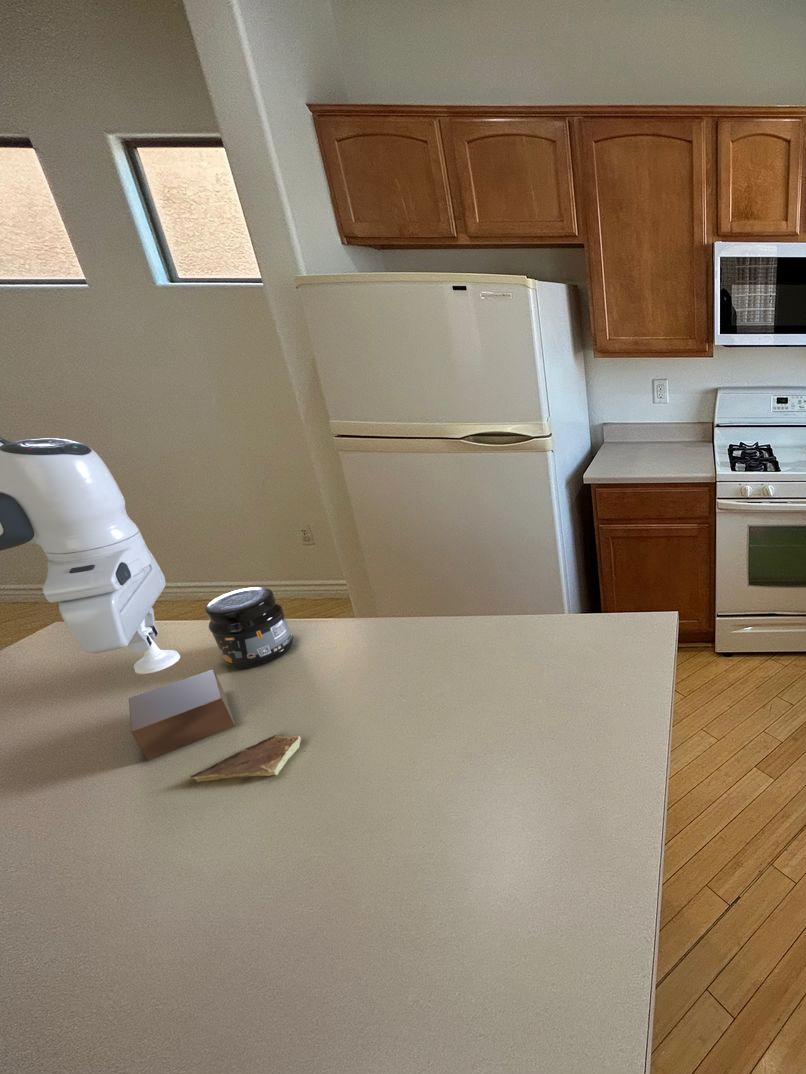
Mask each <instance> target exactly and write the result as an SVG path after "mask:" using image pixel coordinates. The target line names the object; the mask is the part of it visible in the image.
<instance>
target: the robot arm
mask: <svg viewBox="0 0 806 1074" xmlns="http://www.w3.org/2000/svg"><path fill="white" fill-rule="evenodd" d="M24 544H25V545H26V544H36V545H38V546H39V547H40V548H41V549H42V551H43V553H44V554H45V556H46V558H47V560H48V561H47V575H46V578H45V581H44V583H43V586H42V594H43V595H44V597H45V599H46V600H47V601H48V602H49V603H50V604H51V603H58V609H59V610H58V611H59V614H60V616H61V618H62V620H63V622H64V623H65V625H66V627H67V628H68V630H69V631H70V632H71V634H72V636H73V637H74V639H75V640H76V641H77V643H78V644H79V646H80V647H81V648H82V649H83V650H84V651H86V652H88V653H89V654H93V655H94V654H95V655H96V654H101V653H106V652H111V651H115V650H119V649H124V648H126V647H127V646H128V647H129V649H130V650H131V652H132V653H134V654H140V653H144V652H145V651H148V650H149V649H150V646H151V645H152V642H151V641H150V638H149V636H150V637H151V639H152V640H153V641H154V640H155V639H156V638H157V637H158V635H159V633H160V631H159V629H158V627H157V625H156V619H155V612H154V611H155V610H154V608H153V606H154V604H155V603H156V601H157V600H158V599H159V596H160V595H161V594H162V592H163V590H165V587H166V585H167V582H166V577H165V575H164V572H163V570H162V569H161V567H160V565H159V563H158V562H157V560H156V558H155V556H154V555H153V554H152V552H151V551H150V549H149V548H148V546H147V544H146V541H145V539H144V537H143V535H142V532H141V531H140V528H139V526H138V525H137V524H136V523H135V522H134V521H133V520H132V519H131V518H130V516H129V515H128V512H127V509H126V500H125V497H124V495H123V493H122V491H121V489H120V487H119V485H118V482H117V481H116V480H115V478H114V476H113V474H112V472H111V471H110V469H109V468H108V466H107V465H106V463H105V461H103V459H102V457H100V456H99V454H98V453H97V452H96V451H95V450H94V449H93V448H91V447H90V446H88V445H87V444H85V443H83V442H78V441H75V440H71V439H64V438H50V437H49V438H47V437H46V438H33V439H30V438H29V439H20V440H14V441H10V440H7V439H5V438H2V437H1V436H0V552H1V551H5V550H8V549H9V550H10V549H12V548H16V547H19V546H22V545H24ZM144 618H145V627H150V628H152V631H151V632H149V633H148V634H149V636H148V635H146V636H145V635H144V634H143V633H142V632H141V631H140V630H141V629H142V628H141V626H140V625H141V623H142V622H143V620H144Z"/></svg>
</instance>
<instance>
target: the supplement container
mask: <svg viewBox="0 0 806 1074" xmlns="http://www.w3.org/2000/svg"><path fill="white" fill-rule="evenodd" d="M204 612H205V614H206V616H207V618H208V620H209V623H208V630H209V631H210V633H211V634H212V636H213V638H214V641H215V643H216V644H217V647H218V649H219V651H220V654H221V656H222V659H223V662H224V664H225V665H226V666H228V667H230V668H232V669H237V670H239V669H240V670H245V669H253V668H257V667H261V666H265V665H267V664H270V663H272V662H274V661H277V660H278V659H281V658H282V657H284V656H285V655H286V654H288V653H289V652H290V651H291V649H293V647H294V644H295V639H294V636H293V633H292V632H291V630H290V627H289V624H288V621H287V619H286V616H285V613H284V609H283V606H282V604H281V603H279V602H278V601H276V597H275V595H274V592H273V590H272V589H270V588H268V587H263V586H254V587H246V588H241V589H237V590H233V591H230V592H227V593H223V594H222V595H220V596H218V597H216V598H214V599H213V600H211V601H210V602H209V603H208V604H206V606H205V611H204Z"/></svg>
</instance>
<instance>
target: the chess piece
mask: <svg viewBox="0 0 806 1074" xmlns="http://www.w3.org/2000/svg"><path fill="white" fill-rule="evenodd" d="M140 626H141V628H142V629H141V630H140V631H141V632H142V633H143V634H144V635H145V636H146V635H148V636H149V634H148V633H149V632H151V631H152V628H150V627H145V618H144V620H143V622H142V623H141V625H140ZM149 638H150V641H151V642H152V645H151V646H150V649H149V650H148V651H145V652H143V655H142V658H139V659H138V660H137V661H136V662H135V663H134V664H133V669H134V672H135V674H139V675H144V674H145V675H146V674H152V673H157V672H160V671H162V670H165V669H167V668H170V667H171V666H173V665H174V664H176V663H177V662H179V660H180V659H181V654H180V653H179V652H178V651H176V650H174V649H160V648H159V646H158V645H157V644H156V642H155V641H154V639H153V640H152V639H151V637H150V636H149Z"/></svg>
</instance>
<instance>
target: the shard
mask: <svg viewBox="0 0 806 1074" xmlns="http://www.w3.org/2000/svg"><path fill="white" fill-rule="evenodd" d="M301 739H302V738H301V736H299V735H298V736H297V735H296V736H295V735H294V736H279V735H277V734H275V735H272V736H270V737H268V738H266V739H263V740H262V741H259V742H257V743H256V744H253V745H251V746H249V747H247V748H244V749H242V750H240V751H238V752H236V753H234V754H232V755H230V756H228V757H227V758H224V759H223V760H221V761H219V762H217V763H215V764H213V765H211V766H209V767H208V768H205V769H203V770H202V771H199V772H197V773H195V774H192V775H191V776H190V779H194V780H196V783H198V782H199V783H200V782H206V781H207V782H208V781H214V780H222V779H230V778H231V779H232V778H233V779H234V778H238V777H242V778H243V777H257V776H258V777H261V776H262V777H263V776H264V777H271V776H277V775H278V774H279V773H280V772H281V770H282V769H283V767H284V766H285V765H286V763H287V761H288V760H289V759H290V758H291V757H292V756H293V755H294V754H295V752H296V751H297V750H299V748H300V745H301Z"/></svg>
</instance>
